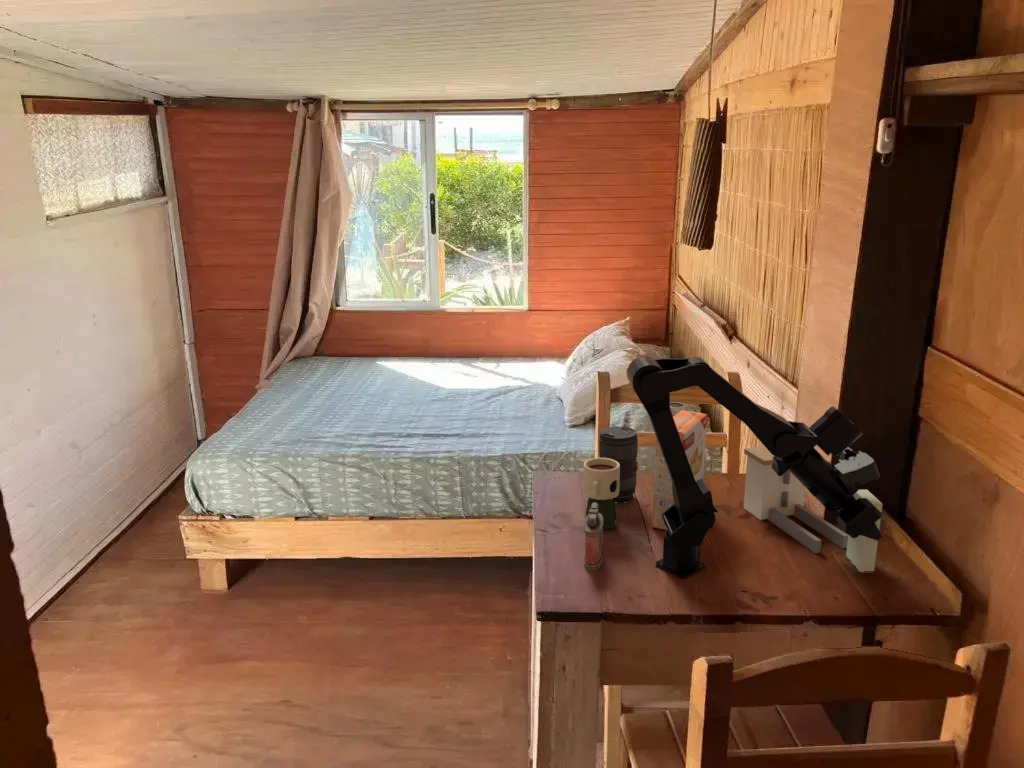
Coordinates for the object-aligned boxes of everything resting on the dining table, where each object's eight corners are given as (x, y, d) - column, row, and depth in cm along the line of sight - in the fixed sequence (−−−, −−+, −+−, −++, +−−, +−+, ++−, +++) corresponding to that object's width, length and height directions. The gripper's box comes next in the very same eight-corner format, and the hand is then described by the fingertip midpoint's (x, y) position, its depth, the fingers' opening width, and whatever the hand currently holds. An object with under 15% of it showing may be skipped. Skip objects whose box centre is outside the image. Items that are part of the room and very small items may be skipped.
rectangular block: (860, 572, 136) (868, 504, 132) (845, 555, 141) (853, 489, 138) (873, 572, 136) (882, 503, 132) (859, 555, 141) (867, 489, 138)
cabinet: (806, 555, 142) (812, 489, 138) (740, 507, 161) (744, 448, 158) (856, 546, 145) (864, 481, 141) (785, 500, 164) (790, 442, 161)
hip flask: (600, 571, 137) (601, 519, 135) (581, 569, 138) (582, 518, 135) (603, 549, 145) (604, 500, 142) (585, 548, 146) (586, 499, 143)
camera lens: (614, 486, 173) (615, 422, 169) (643, 497, 167) (645, 431, 163) (590, 497, 167) (591, 431, 163) (619, 508, 162) (621, 441, 158)
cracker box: (679, 535, 150) (685, 433, 144) (650, 528, 153) (654, 428, 147) (703, 508, 161) (709, 412, 156) (675, 502, 164) (680, 408, 159)
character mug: (612, 539, 149) (613, 476, 145) (576, 534, 151) (577, 472, 147) (623, 515, 159) (625, 456, 155) (589, 510, 161) (590, 452, 157)
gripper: (875, 461, 123) (936, 524, 126) (829, 423, 141) (883, 478, 144) (821, 507, 125) (881, 567, 128) (783, 464, 143) (836, 518, 146)
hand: (871, 530), depth 137 cm, fingers closed on rectangular block, 6 cm apart
